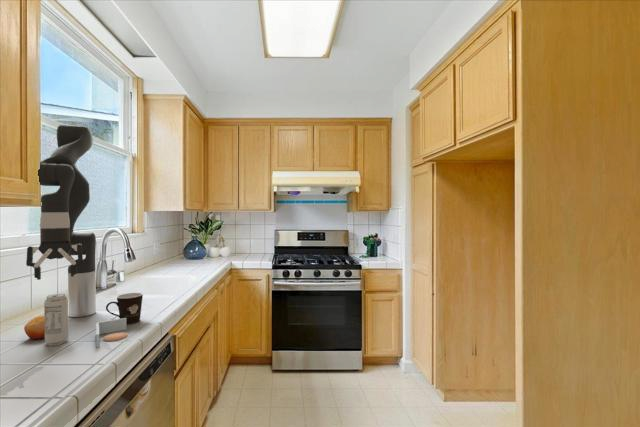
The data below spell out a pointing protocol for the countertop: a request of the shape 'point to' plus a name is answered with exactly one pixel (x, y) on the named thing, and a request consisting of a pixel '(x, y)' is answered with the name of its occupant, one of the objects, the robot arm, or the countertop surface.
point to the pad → (115, 336)
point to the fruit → (35, 328)
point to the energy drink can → (56, 319)
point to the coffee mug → (128, 307)
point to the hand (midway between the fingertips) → (56, 277)
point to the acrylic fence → (109, 327)
